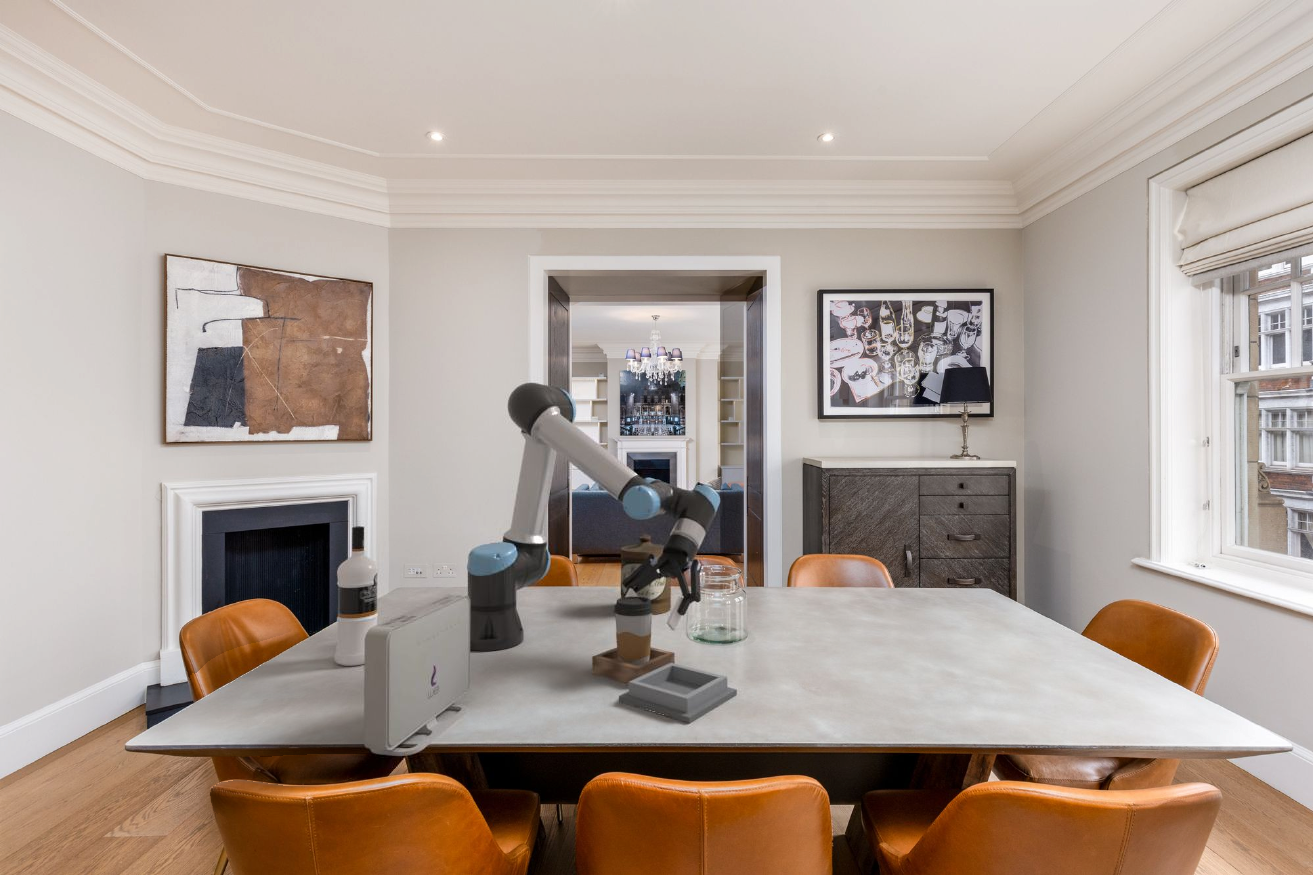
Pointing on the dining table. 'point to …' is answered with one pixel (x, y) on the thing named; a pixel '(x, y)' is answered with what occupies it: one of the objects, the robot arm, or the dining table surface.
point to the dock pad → (678, 692)
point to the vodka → (355, 602)
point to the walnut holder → (629, 665)
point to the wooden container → (657, 589)
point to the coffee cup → (633, 629)
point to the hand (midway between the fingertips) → (644, 621)
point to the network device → (416, 674)
